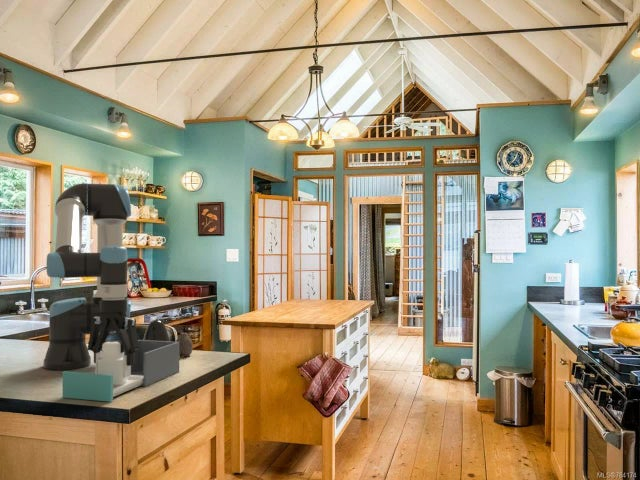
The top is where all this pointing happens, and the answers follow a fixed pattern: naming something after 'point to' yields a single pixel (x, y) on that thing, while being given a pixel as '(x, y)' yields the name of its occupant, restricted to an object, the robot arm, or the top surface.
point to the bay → (155, 360)
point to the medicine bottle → (112, 361)
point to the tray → (96, 386)
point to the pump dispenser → (156, 331)
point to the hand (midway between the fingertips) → (113, 375)
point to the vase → (184, 345)
